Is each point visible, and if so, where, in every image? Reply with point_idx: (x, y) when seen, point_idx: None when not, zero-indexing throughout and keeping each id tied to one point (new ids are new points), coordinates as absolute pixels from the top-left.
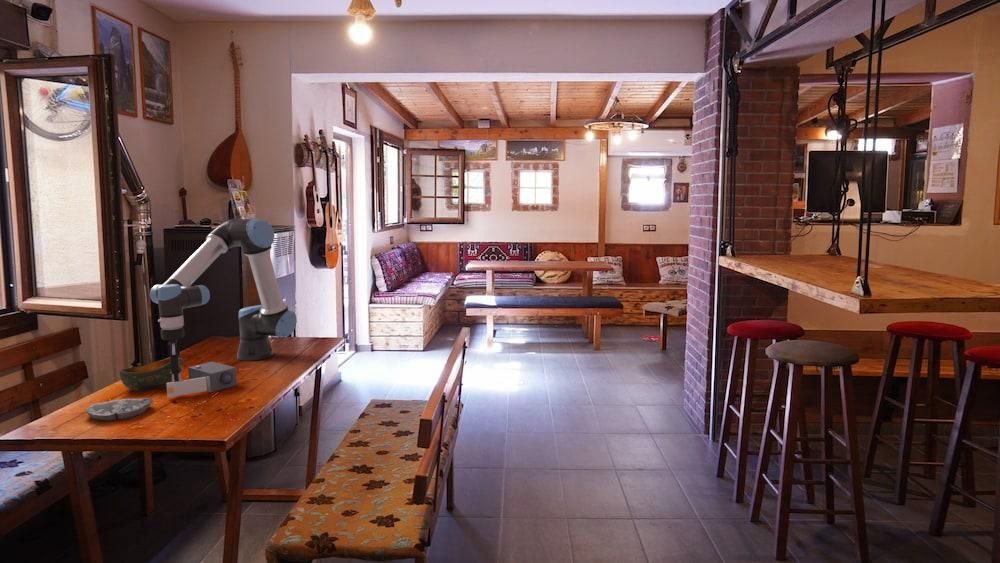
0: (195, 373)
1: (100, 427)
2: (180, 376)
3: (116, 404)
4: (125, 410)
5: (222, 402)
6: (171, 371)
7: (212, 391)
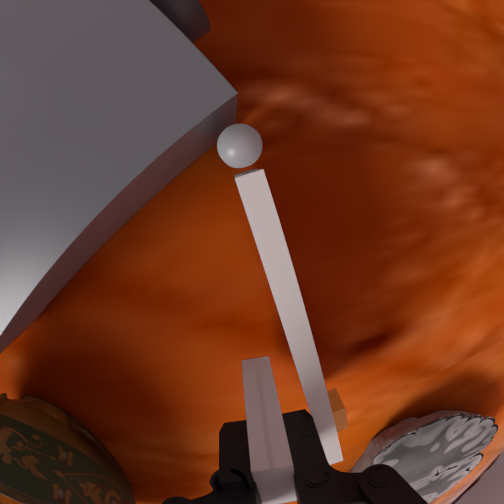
0: (22, 317)
1: None
2: (260, 436)
3: None
4: (475, 445)
5: (470, 78)
6: (26, 451)
7: None
